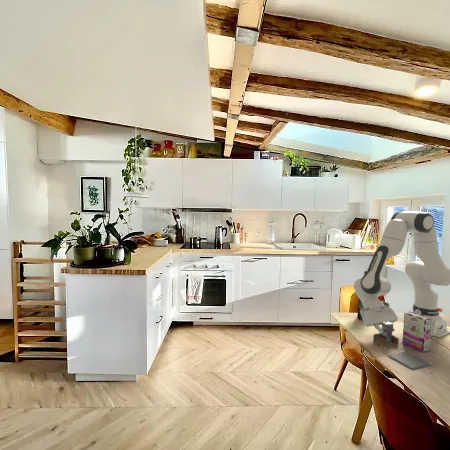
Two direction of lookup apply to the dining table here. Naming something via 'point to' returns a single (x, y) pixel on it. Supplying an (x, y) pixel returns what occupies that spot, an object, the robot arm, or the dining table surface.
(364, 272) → the wine bottle
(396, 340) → the holder
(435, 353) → the dining table surface
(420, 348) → the candy bar box
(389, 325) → the gray rectangular block
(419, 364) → the coaster
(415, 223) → the robot arm
